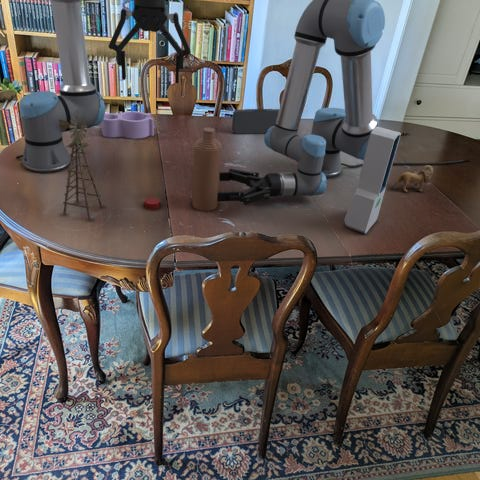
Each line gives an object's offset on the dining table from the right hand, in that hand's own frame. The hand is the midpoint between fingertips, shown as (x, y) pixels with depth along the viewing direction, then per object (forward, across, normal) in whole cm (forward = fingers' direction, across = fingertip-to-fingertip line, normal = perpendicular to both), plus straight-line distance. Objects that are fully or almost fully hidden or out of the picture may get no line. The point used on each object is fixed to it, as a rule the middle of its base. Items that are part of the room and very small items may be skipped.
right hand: (212, 186), depth 143 cm
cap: (+18, 0, -5) cm, 19 cm away
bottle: (+2, 0, -6) cm, 7 cm away
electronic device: (-44, -16, -6) cm, 47 cm away
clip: (+23, +61, -6) cm, 66 cm away
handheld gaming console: (-32, +62, -6) cm, 71 cm away
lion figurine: (-75, +6, -6) cm, 75 cm away
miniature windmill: (+38, -1, -6) cm, 39 cm away
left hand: (+18, 0, +31) cm, 36 cm away
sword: (-94, +55, -6) cm, 109 cm away
